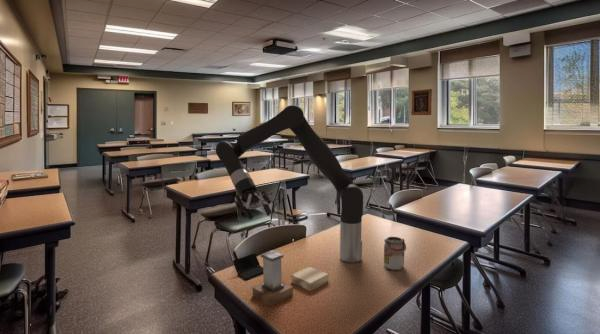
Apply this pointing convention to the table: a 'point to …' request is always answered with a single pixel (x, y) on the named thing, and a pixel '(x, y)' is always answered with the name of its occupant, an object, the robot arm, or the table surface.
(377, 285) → the table surface
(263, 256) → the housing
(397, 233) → the table surface
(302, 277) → the stand
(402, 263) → the beverage can
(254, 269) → the handheld gaming console
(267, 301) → the stand
